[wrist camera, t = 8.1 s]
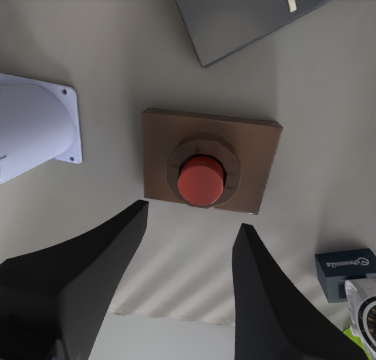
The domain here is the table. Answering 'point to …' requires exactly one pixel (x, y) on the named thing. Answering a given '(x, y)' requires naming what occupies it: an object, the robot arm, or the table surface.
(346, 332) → the soap dispenser
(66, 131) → the robot arm
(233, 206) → the button block
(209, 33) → the timer panel
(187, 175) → the push knob
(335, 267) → the watch
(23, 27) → the table surface
